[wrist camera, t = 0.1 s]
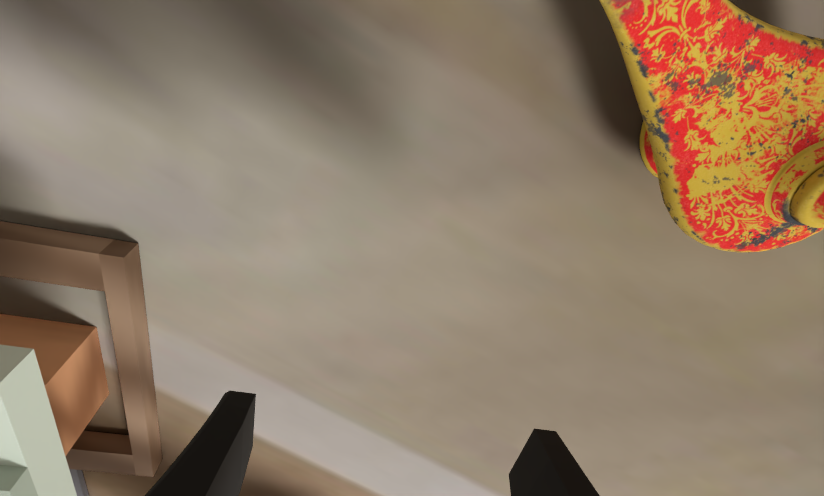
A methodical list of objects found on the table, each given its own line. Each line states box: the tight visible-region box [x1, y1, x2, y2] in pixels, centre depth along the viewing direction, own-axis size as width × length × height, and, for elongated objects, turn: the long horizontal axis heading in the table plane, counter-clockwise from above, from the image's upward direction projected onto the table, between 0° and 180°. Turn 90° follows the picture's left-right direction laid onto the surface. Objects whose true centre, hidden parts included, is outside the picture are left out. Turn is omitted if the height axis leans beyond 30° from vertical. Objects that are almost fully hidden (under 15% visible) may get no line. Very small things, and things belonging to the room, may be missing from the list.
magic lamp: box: [599, 0, 824, 252], centre depth 12 cm, size 7×18×11 cm, turn 54°
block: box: [0, 314, 109, 456], centre depth 21 cm, size 5×5×6 cm
